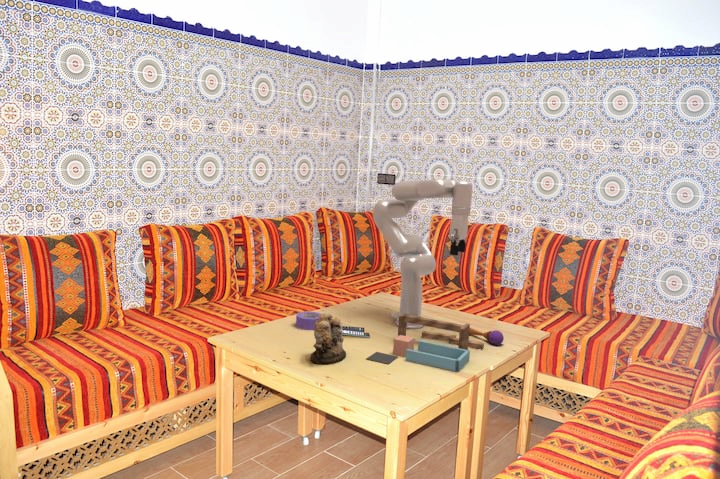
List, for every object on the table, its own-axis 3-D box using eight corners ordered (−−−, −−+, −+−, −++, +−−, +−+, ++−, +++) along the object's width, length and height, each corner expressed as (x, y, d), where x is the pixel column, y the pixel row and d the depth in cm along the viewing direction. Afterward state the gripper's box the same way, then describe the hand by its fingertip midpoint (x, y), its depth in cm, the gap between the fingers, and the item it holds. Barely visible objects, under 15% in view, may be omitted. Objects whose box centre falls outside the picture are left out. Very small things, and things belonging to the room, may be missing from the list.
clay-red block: (392, 354, 219) (393, 339, 218) (399, 349, 225) (400, 334, 224) (407, 357, 217) (408, 342, 216) (413, 352, 222) (414, 337, 221)
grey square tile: (365, 359, 212) (366, 358, 212) (376, 352, 220) (376, 351, 220) (388, 364, 208) (388, 363, 208) (398, 357, 216) (398, 356, 216)
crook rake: (395, 341, 234) (397, 316, 232) (403, 336, 241) (405, 312, 239) (461, 355, 221) (463, 329, 220) (467, 349, 228) (469, 324, 227)
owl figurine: (331, 368, 201) (333, 321, 199) (301, 362, 206) (302, 316, 203) (352, 353, 218) (354, 309, 215) (324, 348, 222) (325, 305, 220)
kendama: (470, 323, 252) (507, 332, 236) (468, 336, 252) (505, 346, 236) (461, 322, 249) (498, 331, 233) (459, 336, 248) (496, 346, 233)
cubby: (405, 360, 213) (406, 349, 213) (418, 350, 225) (419, 340, 224) (458, 372, 204) (459, 361, 204) (469, 360, 216) (470, 350, 215)
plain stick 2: (448, 344, 236) (448, 338, 235) (450, 342, 238) (450, 336, 237) (481, 351, 229) (482, 344, 229) (483, 349, 231) (484, 343, 231)
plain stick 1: (421, 338, 241) (421, 332, 241) (422, 336, 243) (422, 330, 243) (455, 342, 237) (455, 337, 237) (455, 341, 240) (456, 335, 239)
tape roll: (323, 322, 255) (324, 311, 254) (323, 330, 243) (323, 319, 243) (296, 321, 254) (297, 310, 254) (294, 329, 243) (295, 318, 242)
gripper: (458, 209, 243) (455, 249, 245) (445, 212, 227) (441, 255, 230) (475, 211, 239) (472, 251, 242) (463, 214, 224) (460, 257, 226)
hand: (457, 253), depth 236 cm, fingers open, 9 cm apart
